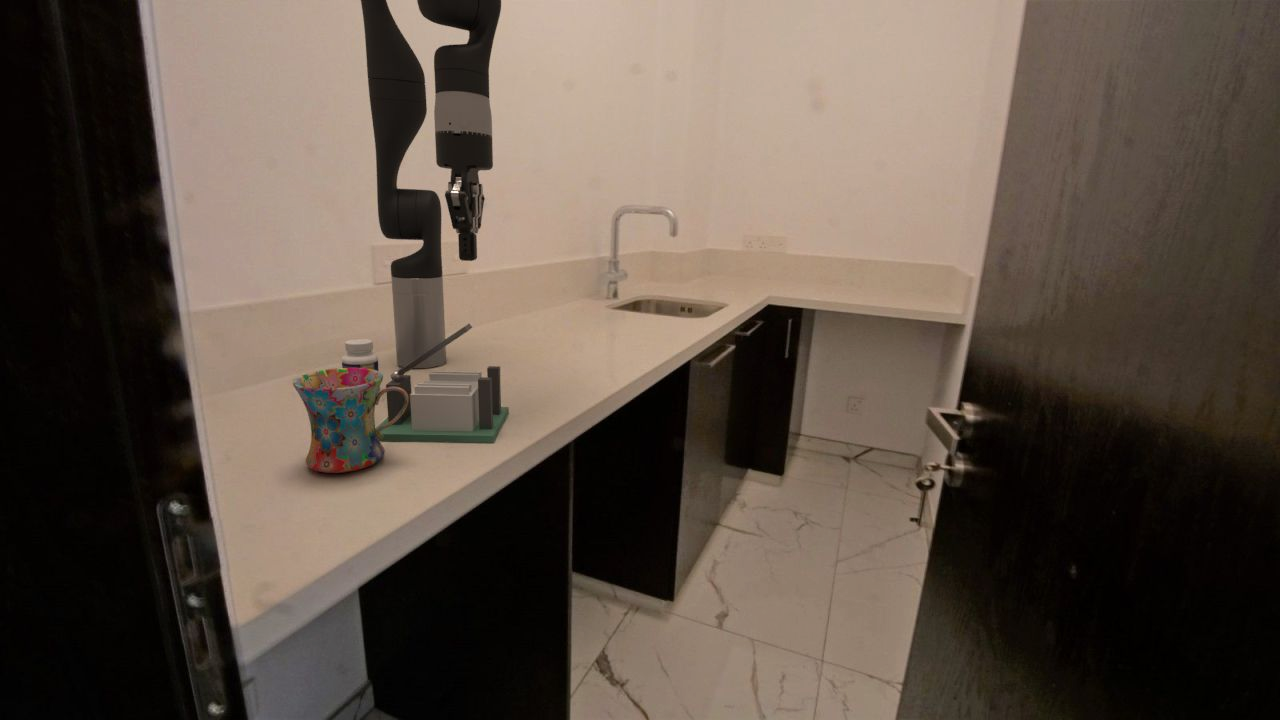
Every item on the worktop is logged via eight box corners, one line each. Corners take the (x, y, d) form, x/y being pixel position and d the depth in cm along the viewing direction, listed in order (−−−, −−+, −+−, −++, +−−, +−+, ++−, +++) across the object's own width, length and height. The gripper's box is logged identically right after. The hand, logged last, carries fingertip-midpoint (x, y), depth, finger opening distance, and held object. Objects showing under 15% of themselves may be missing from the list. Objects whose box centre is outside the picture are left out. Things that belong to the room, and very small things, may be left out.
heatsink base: (401, 411, 88) (398, 360, 86) (508, 413, 89) (507, 362, 87) (369, 440, 77) (365, 382, 75) (493, 443, 78) (491, 385, 76)
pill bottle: (366, 400, 93) (362, 346, 90) (337, 397, 94) (332, 343, 91) (387, 391, 98) (383, 339, 96) (359, 388, 99) (355, 337, 97)
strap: (401, 376, 82) (396, 370, 82) (473, 328, 81) (468, 322, 81) (393, 381, 80) (389, 375, 79) (468, 332, 78) (463, 326, 78)
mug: (290, 482, 65) (280, 390, 62) (315, 450, 73) (307, 368, 71) (406, 475, 67) (400, 387, 65) (417, 445, 76) (412, 366, 74)
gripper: (449, 137, 86) (453, 256, 90) (420, 123, 73) (427, 263, 77) (500, 139, 87) (502, 258, 91) (481, 126, 74) (484, 264, 78)
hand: (468, 260), depth 84 cm, fingers closed
